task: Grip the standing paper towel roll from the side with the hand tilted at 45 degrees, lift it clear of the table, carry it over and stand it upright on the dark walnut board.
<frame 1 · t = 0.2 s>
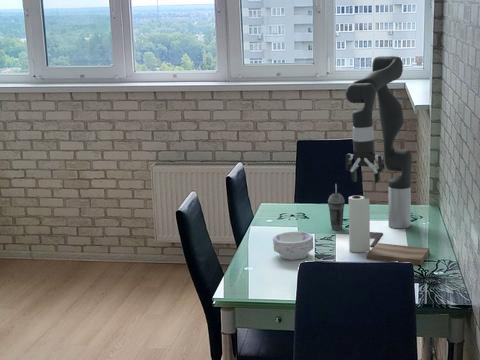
hand: (365, 182, 258), 29 cm above the table, tool pointing down, fingers open, 8 cm apart
beverage cup: (336, 228, 303), on the table
chocolate bar: (367, 241, 286), on the table
paper towel roll: (358, 251, 273), on the table
grey marble bowl: (293, 256, 270), on the table
walnut board: (398, 256, 264), on the table
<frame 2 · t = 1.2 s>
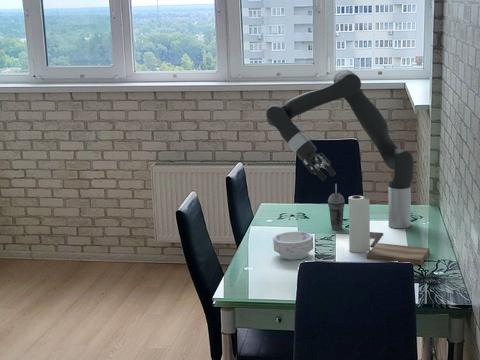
hand: (329, 177, 272), 28 cm above the table, tool tilted 45°, fingers open, 8 cm apart
nothing on the table moved.
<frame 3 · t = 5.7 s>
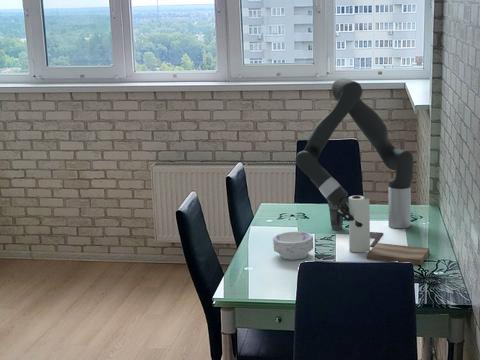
hand: (362, 225, 269), 11 cm above the table, tool tilted 45°, fingers closed on paper towel roll, 3 cm apart
paper towel roll: (358, 251, 273), on the table, touching gripper
everything else where it was.
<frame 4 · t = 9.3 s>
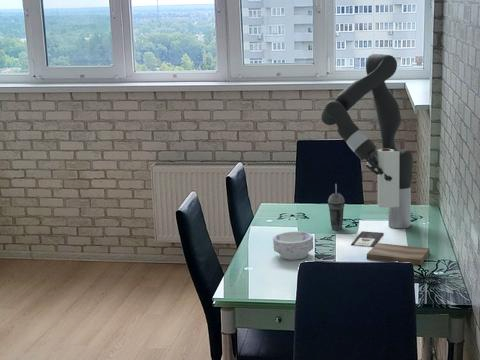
hand: (392, 179, 259), 29 cm above the table, tool tilted 45°, fingers closed on paper towel roll, 3 cm apart
paper towel roll: (386, 206, 262), point 19 cm above the table, touching gripper
everything else where it was.
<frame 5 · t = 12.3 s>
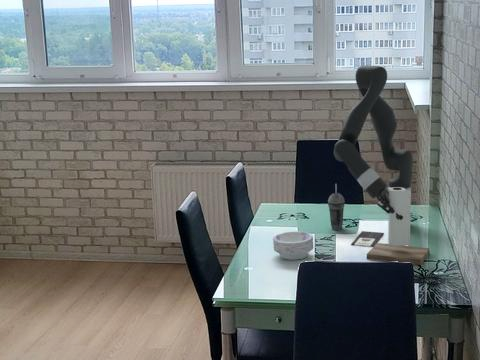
hand: (403, 217, 260), 15 cm above the table, tool tilted 45°, fingers closed on paper towel roll, 3 cm apart
paper towel roll: (397, 245, 263), point 4 cm above the table, touching gripper
everything else where it was.
when the fingers open (14 cm above the table, at t = 13.0 s): paper towel roll drops 1 cm, resting on walnut board.
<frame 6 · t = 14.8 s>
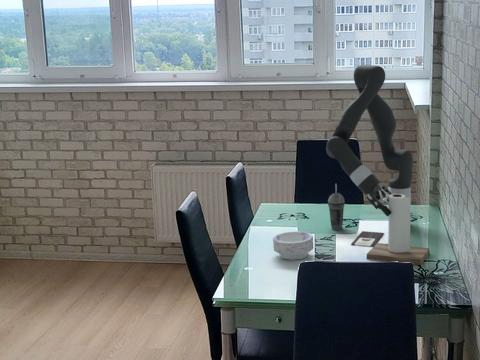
hand: (393, 211, 262), 17 cm above the table, tool tilted 45°, fingers open, 8 cm apart
paper towel roll: (397, 251, 264), point 2 cm above the table, touching walnut board
everything else where it was.
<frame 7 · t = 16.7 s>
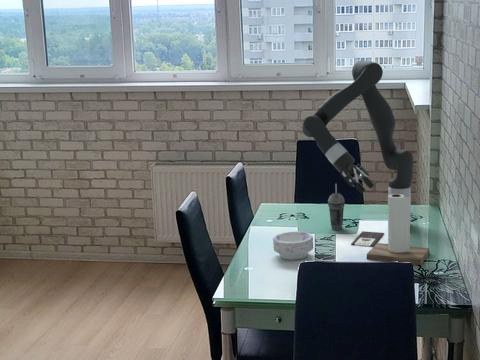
hand: (368, 189, 265), 25 cm above the table, tool tilted 45°, fingers open, 8 cm apart
nothing on the table moved.
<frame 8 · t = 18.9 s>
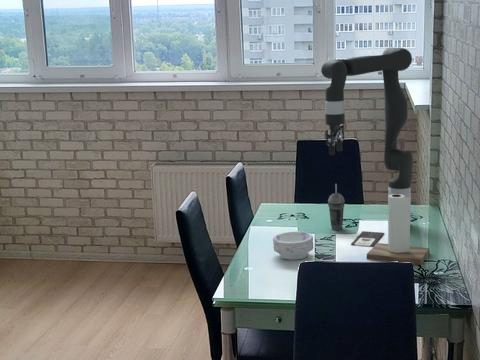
hand: (335, 153, 279), 36 cm above the table, tool pointing down, fingers open, 8 cm apart
nothing on the table moved.
at the end: paper towel roll inside the target area on the walnut board (0.4 cm from its centre), point 1.8 cm above the walnut board's base; paper towel roll tilted 0°; the gripper is holding nothing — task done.
